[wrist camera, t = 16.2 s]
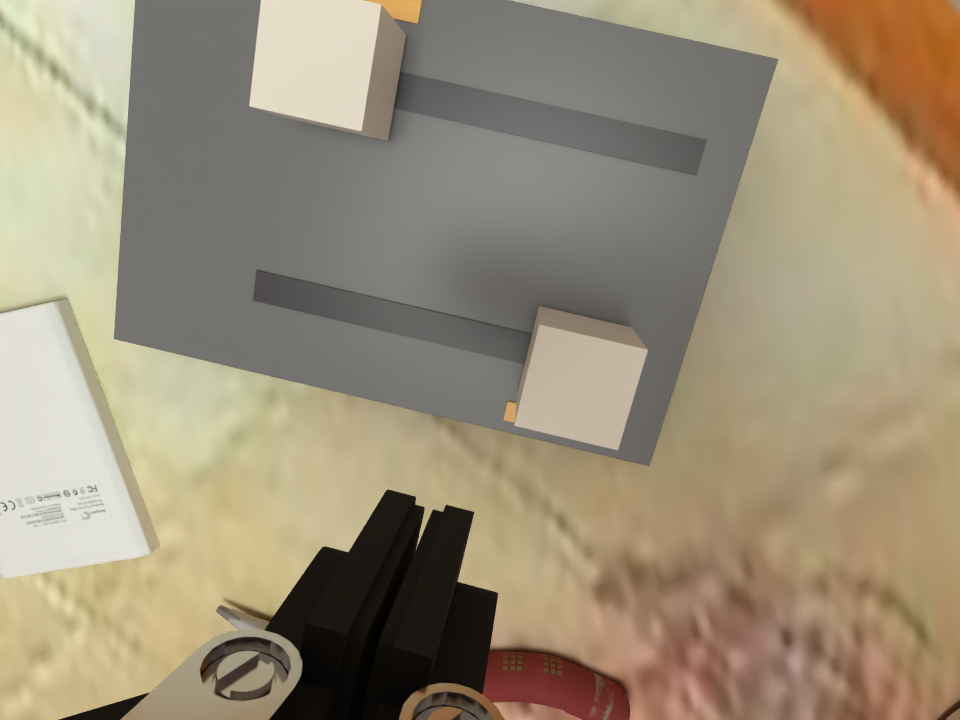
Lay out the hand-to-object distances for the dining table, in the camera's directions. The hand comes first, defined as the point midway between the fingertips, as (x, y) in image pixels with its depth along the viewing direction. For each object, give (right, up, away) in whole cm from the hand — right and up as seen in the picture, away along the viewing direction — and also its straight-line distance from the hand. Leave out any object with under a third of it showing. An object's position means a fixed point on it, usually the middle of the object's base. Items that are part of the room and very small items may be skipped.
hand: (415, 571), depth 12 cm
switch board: (-1, +10, +14) cm, 17 cm away
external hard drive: (-20, 0, +19) cm, 27 cm away
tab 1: (-3, +14, +10) cm, 17 cm away
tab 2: (+5, +4, +12) cm, 14 cm away
